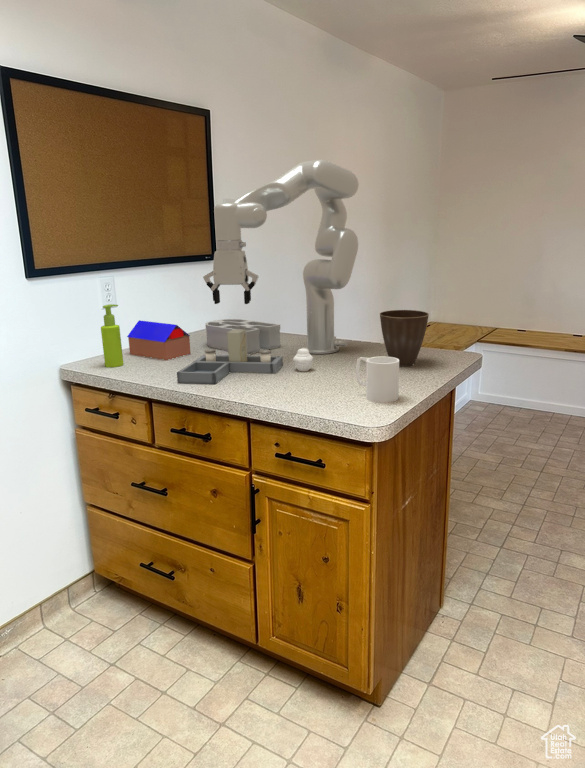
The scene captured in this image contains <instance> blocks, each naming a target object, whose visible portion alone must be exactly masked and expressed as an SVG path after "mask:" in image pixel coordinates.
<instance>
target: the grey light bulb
mask: <svg viewBox="0 0 585 768" xmlns="http://www.w3.org/2000/svg"><path fill="white" fill-rule="evenodd" d="M216 350H217V349H215V348H210V347H209V348H205V349H204V353H205V354H204V355H206V361H216V355H217V354H216V352H217V351H216Z"/></svg>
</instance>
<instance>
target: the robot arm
mask: <svg viewBox="0 0 585 768" xmlns="http://www.w3.org/2000/svg"><path fill="white" fill-rule="evenodd" d="M312 189H314V193H315V195H316V196H317V199H318V200H319V203H320V205H321V210H322V214H321V218H320V222H319V223H320V224H319V227H318V230H317V234H316V238H315V241H314V250H315V252H316V253H317V254H318V255H319V256H321V257H326V258H331V259H325V258H323V259H322V258H321V259H319V258H317V259H312V260H310V261H308V262H307V263H306V264H305V265H304V267H303V271H302V277H303V278H302V279H303V283H304V288H305V297H306V339H307V340H306V341H307V342H306V343H307V345H305V346H303V347H302V348H305V349H308V351H309V353H310V354H312V355H324V354H332V353H336V352H338V351H339V347H347V346H348V341H347V340H343V339H341V340H340V339H339V340H338V339H337V336H335V299H334V294H333V292H332V290H341V289H344V288H345V287H346V286H347V285H348V284H349V282H350V280H351V277H352V273H353V270H354V267H355V266H354V265H355V261H356V258H357V256H358V255H357V254H358V252H359V251H358V250H359V240H358V235H357V234H356V232H355V231H354V230H352V229H351V228H347V227H346V223H347V219H348V213H347V209H346V206H345V203H344V201H343V200H342V199H344V200H345V199H350V198H353V197H354V196H355V195H356V193H358V189H359V180H358V177H357V175H356V174H355V173H354V172H353V171H352V170H349V169H347V168H345V167H342V166H340V165H337V164H336V163H334V162H331V161H328V160H325V159H313V160H307V161H302V162H299V163H298V164H296V165H294V166H293V167H291V168H290V169H288V170H287V171H286V172H284V173H283V174H281V175H280V176H278V177H277V178H275V179H274V180H272V181H270V182H268V183H266V184H264V185H262V186H259V187H258V188H256V189H254V190H252V191H249V192H247V193H246V194H245V195H243V196H241V197H240V198H238V199H237V200H235V201H234V202H231V203H230V202H229V203H217V204H216V205H214V207H213V209H214V210H213V213H214V216H213V217H214V229H215V243H216V244H215V245H216V251H214V254H213V264H212V271H210V272H209V273H207V274H206V275H204V276H203V281H204V282H205V284H206V286H207V287H208V288H209V289H210V290H211V291H212V301H213V302H214V305H218V304H220V303H221V296H220V295H221V293H220V289H219V287H220V286H226V285H228V286H229V285H230V286H233V285H235V286H236V285H240V286H241V287H243V289H244V291H243V298H244V299H243V300H244V301H243V302H244V305H248V304H250V302H251V300H252V296H251V295H252V293H251V291H252V289H253V288H254V287H255V286H256V284H257V282H258V279H259V275H258V274H256V273H254V272H252V271H250V270H249V267H248V260H247V256H246V252H245V250H243V248H245V247H246V246H247V243H246V242H244V241H243V240H242V229H257V228H260V227H261V226H263V225H264V224H265V222H266V220H267V218H268V215H267V214H268V213H267V212H269V211H273V210H277V209H282V208H284V207H286V206H288V205H290V204H291V203H292V202H294V201H295V200H296V199H298V198H300V197H301V196H302V195H303V194H305V193H306V192H307V191H310V190H312ZM345 227H346V228H345ZM212 277H213V282H214V283H213V282H212V281H211V278H212ZM249 277H250V278H252V279H251V281H250V283H249V279H250V278H249Z"/></svg>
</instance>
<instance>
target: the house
mask: <svg viewBox="0 0 585 768" xmlns="http://www.w3.org/2000/svg"><path fill="white" fill-rule="evenodd" d="M190 337H191V335H190V334H189V333H187V332H186V331H185V330H184V329H182V328H181V327H180V326H179V325H178V324H173V323H172V324H171V323H165V322H164V323H163V322H158V321H147V320H138V321H137V322H136V324H135V325H134V326H133V327H132V329H131V331H130V332H129V333H128V335H127V336H126V338H128V346H129V347H128V348H129V354H130V355H131V354H132V355H133V356H138V357H143V356H145V357H144V358H149V357H152V358H151V359H154V358H158V359H157V360H160V359H164V360H163V361H169V360H168V359H170V360H173V359H172V358H174V359H177V358H176V357H178V358H180V357H179V356H182V357H184V356H183V355H186V356H188V355H187V354H189V355H191V354H190V353H191V342H190V340H191V339H190ZM132 355H131V356H132Z"/></svg>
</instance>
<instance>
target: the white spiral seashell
mask: <svg viewBox="0 0 585 768" xmlns="http://www.w3.org/2000/svg"><path fill="white" fill-rule="evenodd" d="M296 352H297V353H296V355H294V357H293V358H292V359H293V362H294V365H295V367H296V368H297V369H296V370H298V371H299V372H307V371H310V369H311V366H312V364H313V361H314V357H313V356H312V355H311V353H309V351H308V349H305V348H303V347H302V348H299V349H298V350H297V351H296Z"/></svg>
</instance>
